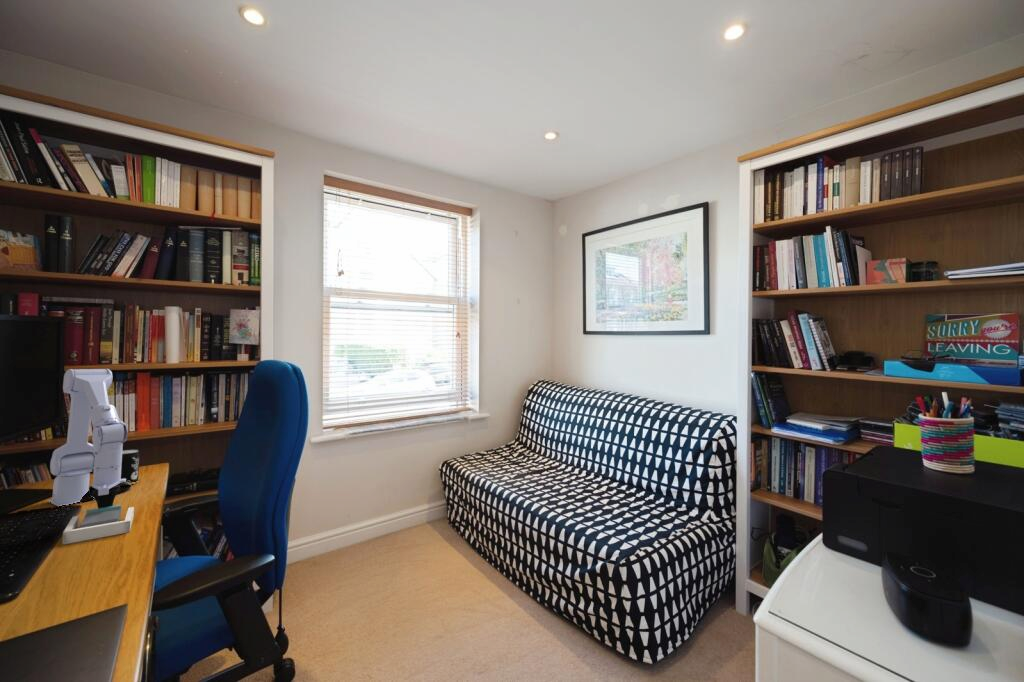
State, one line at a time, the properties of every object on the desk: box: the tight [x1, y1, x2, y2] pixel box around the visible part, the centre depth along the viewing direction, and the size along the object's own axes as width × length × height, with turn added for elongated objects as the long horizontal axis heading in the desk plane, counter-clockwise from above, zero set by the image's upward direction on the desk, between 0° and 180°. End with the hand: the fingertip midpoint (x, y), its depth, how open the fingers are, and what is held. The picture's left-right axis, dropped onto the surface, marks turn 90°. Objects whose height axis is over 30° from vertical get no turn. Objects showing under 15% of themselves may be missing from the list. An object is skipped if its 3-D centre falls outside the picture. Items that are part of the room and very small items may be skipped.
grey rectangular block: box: [79, 504, 122, 528], centre depth 113 cm, size 10×7×4 cm
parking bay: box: [61, 506, 135, 546], centre depth 111 cm, size 13×12×3 cm
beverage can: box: [121, 449, 140, 483], centre depth 149 cm, size 7×7×12 cm
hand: (105, 513), depth 118 cm, fingers closed
